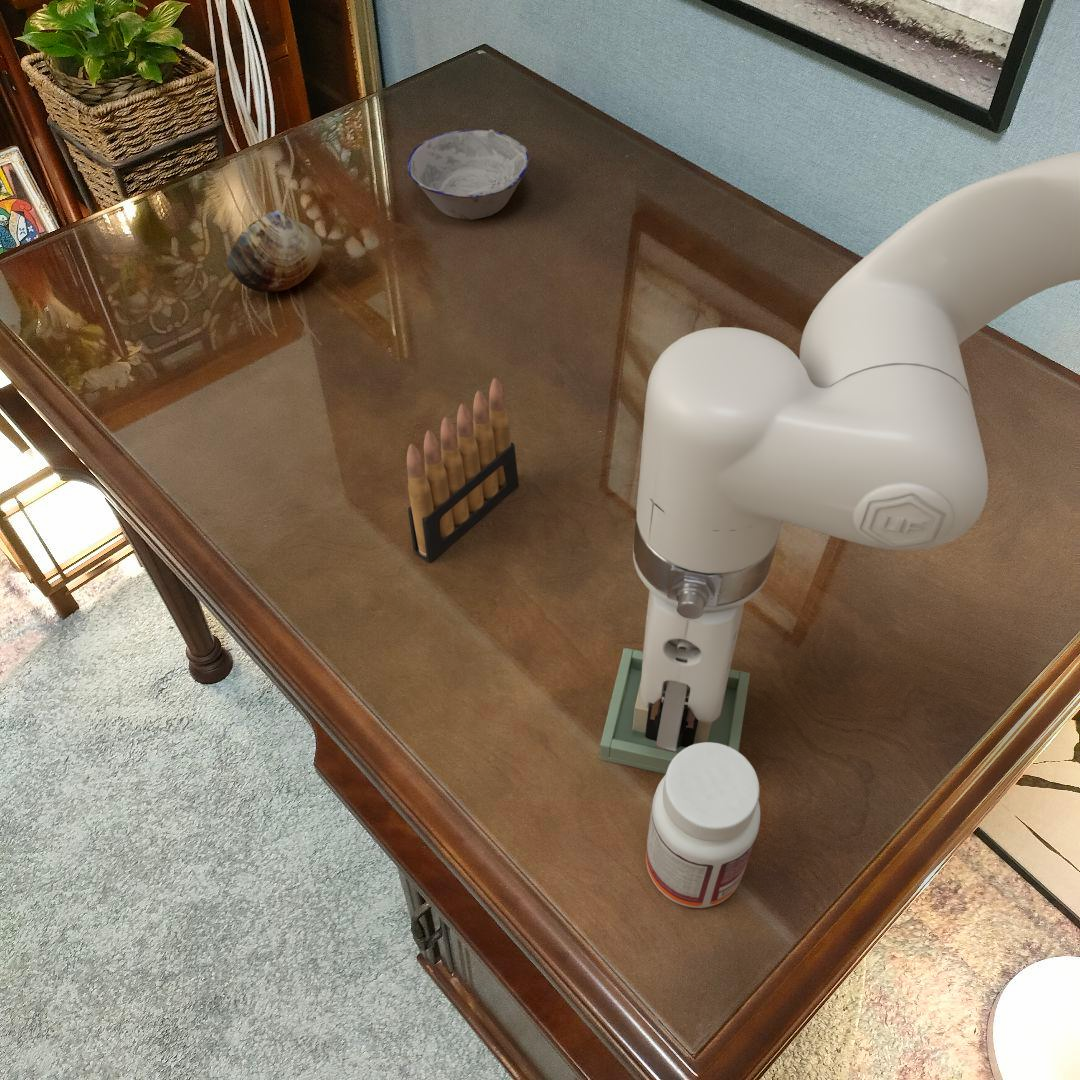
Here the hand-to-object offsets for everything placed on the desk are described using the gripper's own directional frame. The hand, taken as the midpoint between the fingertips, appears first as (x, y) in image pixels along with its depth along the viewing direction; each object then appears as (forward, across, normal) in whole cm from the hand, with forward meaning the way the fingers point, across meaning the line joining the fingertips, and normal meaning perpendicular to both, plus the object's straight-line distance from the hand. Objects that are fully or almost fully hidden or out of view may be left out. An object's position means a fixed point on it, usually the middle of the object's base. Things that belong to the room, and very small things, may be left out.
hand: (675, 708), depth 69 cm
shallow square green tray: (+2, 0, 0) cm, 2 cm away
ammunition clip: (+2, +14, +19) cm, 24 cm away
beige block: (0, 0, 0) cm, 0 cm away
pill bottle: (+2, -10, -3) cm, 10 cm away
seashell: (+2, +40, +46) cm, 61 cm away
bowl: (+2, +58, +32) cm, 67 cm away
